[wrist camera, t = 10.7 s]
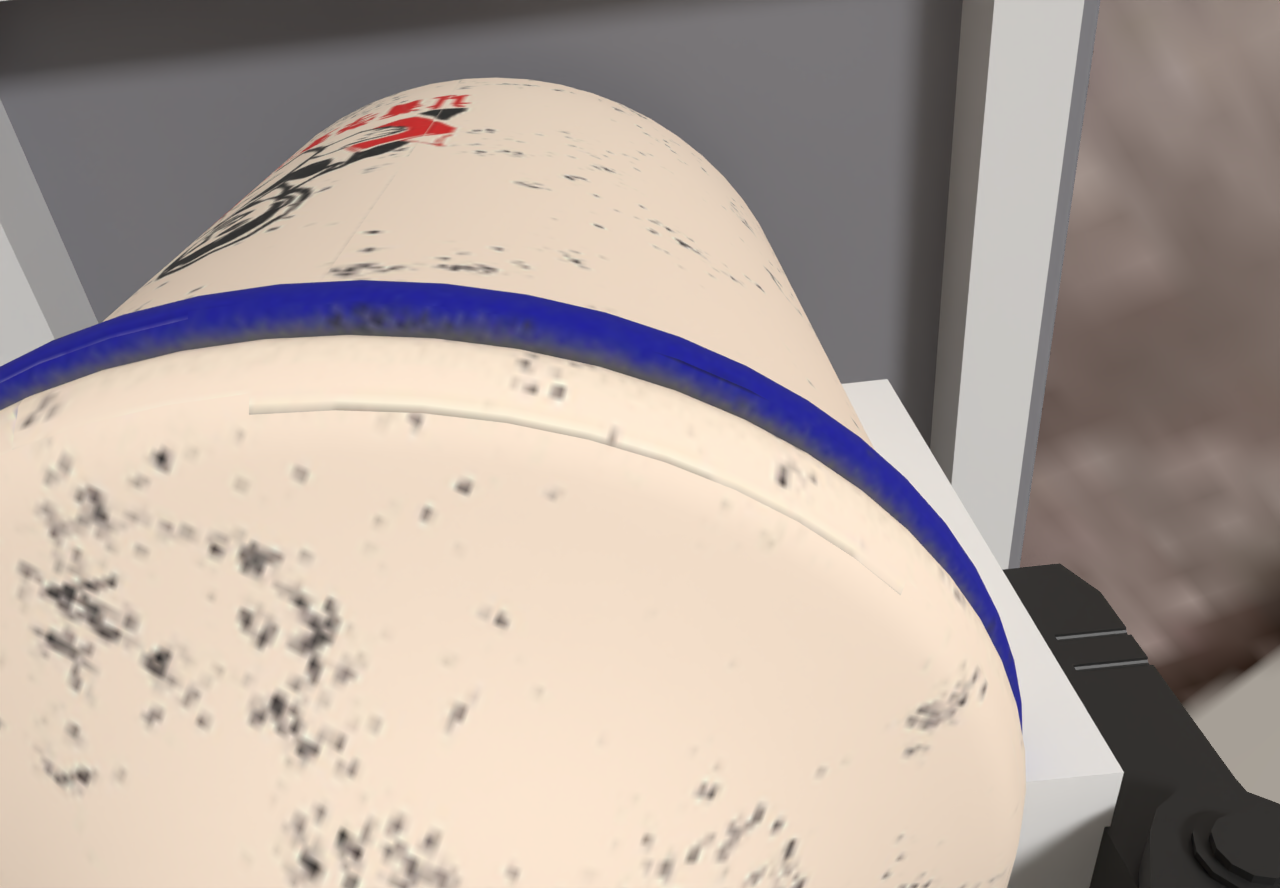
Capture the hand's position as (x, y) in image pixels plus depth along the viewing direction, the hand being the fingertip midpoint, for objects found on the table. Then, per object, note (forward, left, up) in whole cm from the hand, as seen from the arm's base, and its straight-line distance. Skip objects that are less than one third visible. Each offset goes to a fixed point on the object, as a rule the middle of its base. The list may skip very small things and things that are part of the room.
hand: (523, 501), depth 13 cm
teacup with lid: (-1, 0, -2) cm, 3 cm away
